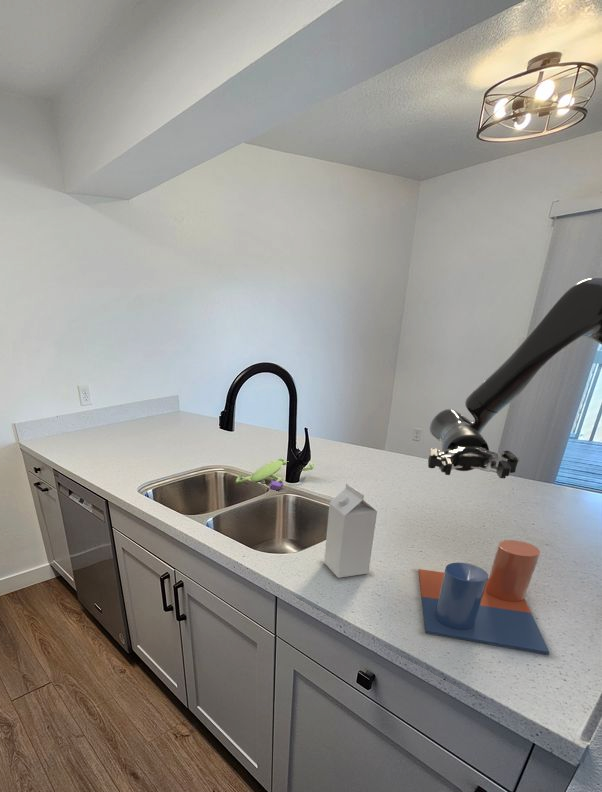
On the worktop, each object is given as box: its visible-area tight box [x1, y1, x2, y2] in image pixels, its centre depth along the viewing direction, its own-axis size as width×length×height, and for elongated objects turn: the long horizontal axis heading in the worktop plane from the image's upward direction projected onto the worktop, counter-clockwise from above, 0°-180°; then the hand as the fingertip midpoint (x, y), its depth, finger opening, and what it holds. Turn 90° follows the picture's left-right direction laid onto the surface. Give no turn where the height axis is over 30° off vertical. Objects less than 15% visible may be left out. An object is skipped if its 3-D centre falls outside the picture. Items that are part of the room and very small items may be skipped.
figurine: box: [235, 458, 315, 492], centre depth 152 cm, size 18×27×6 cm
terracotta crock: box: [486, 539, 541, 602], centre depth 83 cm, size 6×6×10 cm
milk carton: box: [323, 483, 378, 579], centre depth 93 cm, size 7×7×19 cm
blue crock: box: [435, 562, 489, 630], centre depth 77 cm, size 6×6×10 cm
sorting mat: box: [418, 568, 550, 655], centre depth 82 cm, size 18×22×1 cm
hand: (476, 471), depth 77 cm, fingers open, 8 cm apart
